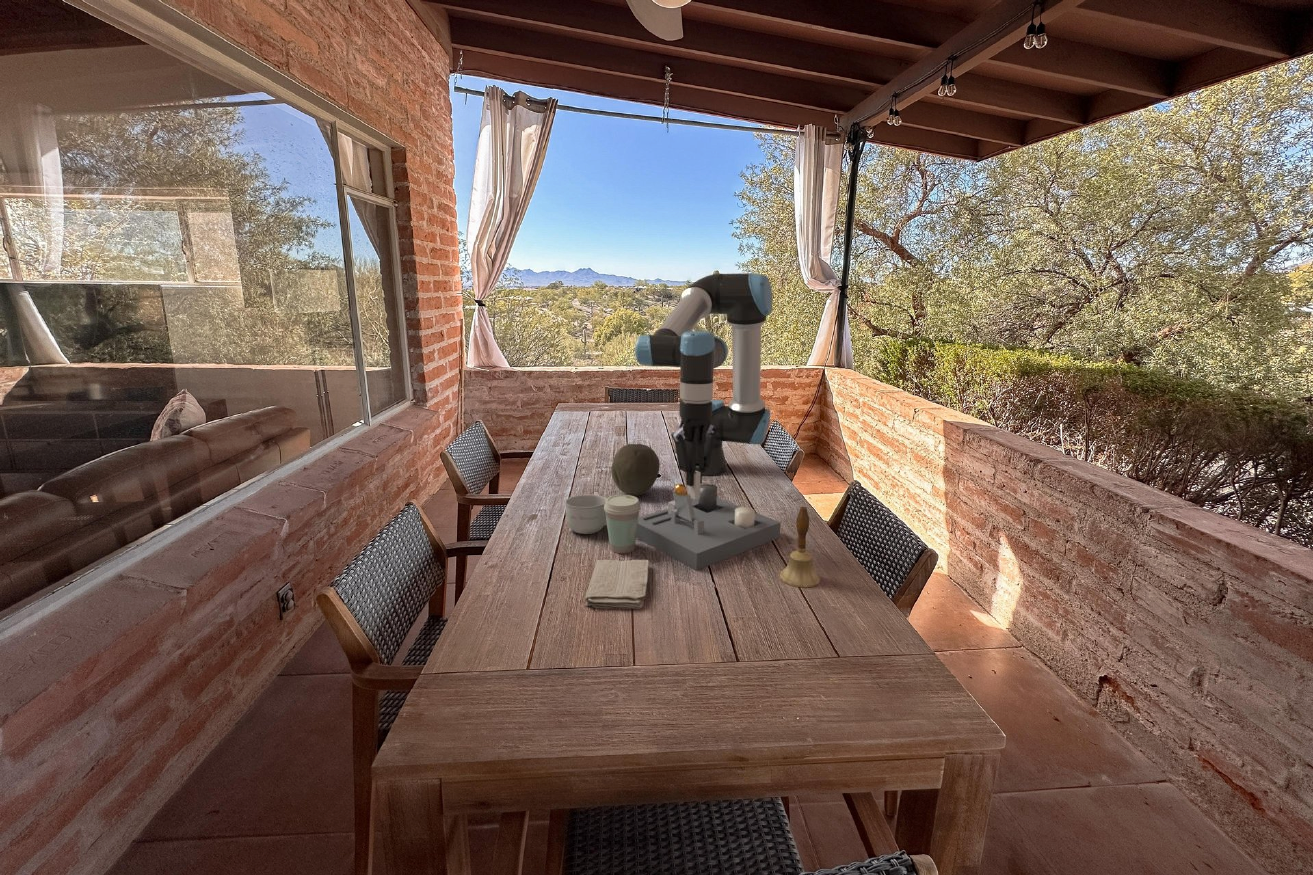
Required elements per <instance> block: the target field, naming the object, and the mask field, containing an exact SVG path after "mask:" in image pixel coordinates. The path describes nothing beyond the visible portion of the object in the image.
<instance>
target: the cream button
mask: <svg viewBox="0 0 1313 875" xmlns="http://www.w3.org/2000/svg"><path fill="white" fill-rule="evenodd" d="M755 513H756V511H755V509H753V508H752V507H746V506H740V507H739V508H736V509H735V523H734V525H736V526H739V527H741V528H743V529H747V528H750V527H753V526H754V520H755Z"/></svg>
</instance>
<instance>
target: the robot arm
mask: <svg viewBox="0 0 1313 875" xmlns="http://www.w3.org/2000/svg"><path fill="white" fill-rule="evenodd" d="M773 302H774V300H773V290H772V286H771V282H770V279H769V277H768V276H767V275H765V274H763V273H752V272H747V273H745V272H743V273H742V272H741V273H714V274H708V275H706V276H704V277H701V278H700V279H698V280H696V281H695V282H692V284H689V286H688V287H687V288H686V289H685V290H684V291H683V292H682V293H681V295H680V297H679V302H678V303H677V305H676V306H675V307H674V309H673V310H672V311H671V312H670V313H669V315H668V316H667V317H666V319H665V320H664V321H663V323H662V324H661V325H660V326H659V327H658V328H657V330H656V331H655V332H654V334H650V333H649V334H642V335H639V336H638V337H637V339H636V341H635V346H634V354H635V359H636V361H637V363H638V364H640V365H642V366H649V367H650V366H651V367H664V368H665V367H667V368H668V367H670V368H680V376H679V399H681V400H680V401H679V410H678V411H679V417H680V420H681V421H680V424H679V429H678V430H677V431H676V432H672V433H671V434H670V436H671V439H672V440H673V442H674V446H675V452H676V458H677V459H676V460H677V465H678V469H679V470H680V471H681V472H685V473H686V474H685V484H686V486H687V493H688V494H690V496H691V500H693V501H695V500H698V499H700V485H702V481H703V476H717V475H721V474H724V473H726V472H727V471H728V470H727V469H728V468H727V467H728V463H727V460H726V456H725V453H724V449H723V442H727V443H728V442H729V443H737V444H745V445H746V444H747V445H761V444H763V443H764V442H765V440H766V437H767V433H768V429H769V425H770V420H771V410H770V409H769V408H766V403H765V402H766V401H764V400H763V399H762V398H761V380H762V379H761V373H762V372H761V370H762V369H761V366H762V364H761V358H762V348H761V347H762V325H763V324H764V323H765V322H766V321H767V317H768V316H770V315H771V314H772V311H773ZM708 315H726V322H727V324H729V325H730V327H731V339H732V340H731V344H732V345H731V346H732V347H731V348H732V349H731V352H732V399H731V400H729V402H728V405H725V402H724V400H720V399H714V398H713V397H714V396H713V395H714V369H716V368H719V367H720V366H722V365H723V363H725V361H726V360H727V358H728V355H729V348H728V346H727V345H728V344H727V343H726V342H725V340H723V339H722V338H721V337H719V336H715V334H714V333H713V332H711V331H705V330H704V331H701V330H699V331H698V330H696V331H694V329H695V328H696V327H697V325H698V323H700V321H701V320H702V319H704V318H706V317H708Z"/></svg>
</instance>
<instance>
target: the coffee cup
mask: <svg viewBox="0 0 1313 875" xmlns="http://www.w3.org/2000/svg"><path fill="white" fill-rule="evenodd" d="M606 498H607V500H606V503H605V505H604V510H605V512H606V520H607V525H606V526H607V527H606V528H607V535H608V542H609V549H610V551H612V552H613V553H616V554H629V553H631V552H633V551H634V550H635V548H636V542H637V541H636V540H637V538H636V535H637V526H638V518H639V517H640V516H639V515H640V510H641V509H642V507H641V503H640V501H639V498H638V497H637V496H632V495H629V494H615V495H611V496H609V497H606Z"/></svg>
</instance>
